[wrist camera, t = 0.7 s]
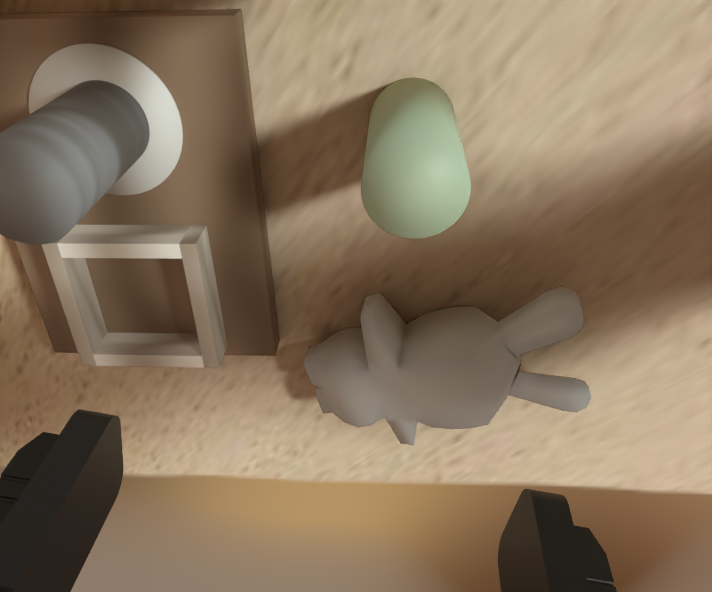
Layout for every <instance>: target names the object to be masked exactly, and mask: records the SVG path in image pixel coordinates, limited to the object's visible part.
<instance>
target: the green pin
mask: <svg viewBox="0 0 712 592" xmlns="http://www.w3.org/2000/svg"><path fill="white" fill-rule="evenodd" d="M470 193H471V180H470V175H469V170H468V166H467V162H466V158H465V154H464V150H463V146H462V142H461V138H460V134H459V129H458V125H457V121H456V117H455V113H454V109H453V106H452V103H451V101H450V99H449V97H448V96H447V94H446V93H445V92H444V91H443V90H442V89H441V88H440V87H439V86H438V85H436V84H435V83H433V82H431V81H428V80H425V79H421V78H406V79H401V80H398V81H396V82H394V83H392V84H390V85H389V86H387V87H386V88H385V89H384V90H382V91H381V93H380V94H379V95H378V96H377V98H376V99H375V101H374V103H373V105H372V108H371V112H370V118H369V126H368V134H367V142H366V150H365V158H364V166H363V174H362V182H361V196H362V201H363V204H364V207H365V209H366V211H367V213H368V215H369V216H370V217H371V219H372V220H373V221H374V222H375V223H376V224H377V225H378V226H379V227H381V228H382V229H383V230H385V231H387V232H388V233H391V234H393V235H396V236H399V237H403V238H411V239H418V238H426V237H430V236H434V235H436V234H439V233H441V232H443V231H444V230H446V229H448V228H449V227H450V226H452V225H453V224H454V223H455V222H456V221H457V220H458V219H459V218H460V216H461V215H462V214H463V212H464V210H465V209H466V206H467V204H468V201H469V198H470Z"/></svg>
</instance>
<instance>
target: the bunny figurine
mask: <svg viewBox="0 0 712 592" xmlns="http://www.w3.org/2000/svg"><path fill="white" fill-rule="evenodd" d="M360 321H361V327H352V328H346V329H342V330H340V331H338V332H336V333H334V334H333V335H331V336H330V337H329V338H327V339H326V340H325V341H323V342H322V343H321V344H319V345H314V346H309V348H308V351H307V354H306V356H305V359H304V362H303V365H304V367H305V370H306V372H307V375H308V377H309V380H310V382H311V384H312V385H315V386H317V388H316V391H315V395H316V397H317V400H318V402H319V405H320V407H321V410H322V412H323V413H334V414H335V415H336V416H337V417H338V418H340V419H341V420H342V421H343V422H345V423H348V424H350V425H353V426H356V427H363V426H371V425H372V424H374V423H375V422H377V421H379V420H380V419H382V418H383V417H385V418H386V420H387V422H388V423H389V425H390V426H391V428H392V430H393V431H394V433H395V435H396V436H397V438H398V440H399V441H400V443H401V444H409V445H414V441H415V433H416V425H417V421H418V422H420V423H423V424H425V425H428V426H430V427H435V428H445V429H465V428H473V427H478V426H483V425H488V424H489V422H490V421H491V419H492V418H493V416H494V415H495V414H496V412H497V411H498V409H499V408H500V406H501V405H502V403H503V402H504V400H505V399H506V398H507V396H508V395H511V396H514V397H517V398H521V399H524V400H528V401H531V402H534V403H538V404H541V405H545V406H548V407H552V408H555V409H559V410H562V411H569V412H578V411H580V410H582V409H584V408H586V407H587V405H588V403H589V401H590V399H591V395H590V391H589V387H588V385H587V384H586V383H585V381H582V380H579V379H576V378H570V377H562V376H554V375H545V374H537V373H529V372H521V371H519V369H520V365H521V361H522V360H521V358H520V356H519V355H521V354H524V353H527V352H530V351H533V350H536V349H539V348H542V347H545V346H548V345H551V344H554V343H556V342H559V341H562V340H565V339H568V338H571V337H572V336H574V335H575V334H577V333H578V332H579V331H580V330H581V328H582V326H583V321H584V318H583V311H582V305H581V299H580V298H579V297H578V295H577V294H576V293H575V291H574V290H572V289H568V288H564V287H558V288H554V289H550V290H547V291H545V292H544V293H542V294H541V295H539V296H538V297H536V298H534V299H533V300H531V301H530V302H528V303H527V304H525V305H524V306H522V307H521V308H519V309H517V310H516V311H514V312H513V313H511V314H510V315H508V316H507V317H505V318H504V319H502V320H500V321H499V322H497V321H495V320H494V319H493V318H491V317H490V316H488V315H487V314H485V313H484V312H482V311H481V310H479V309H478V308H476V307H452V308H446V309H440V310H436V311H433V312H430V313H426V314H423V315H421V316H420V317H418V318H416V319H415V320H413V321H411V322H410V323H408V324H406V323H405V322H404V321H403V319H402V318H401V317H400V316H399V315H398V314H397V312H396V311H395V310H394V309H393V308H392V306H391V305H390V304H389V303H388V302H387V301H386V299H385V298H384V297H383V296H382V295H381V293H377V294H374V295H371V296H367V297H366V298H365V302H364V306H363V309H362V313H361V316H360Z"/></svg>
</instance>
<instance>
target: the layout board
mask: <svg viewBox="0 0 712 592" xmlns="http://www.w3.org/2000/svg"><path fill="white" fill-rule="evenodd" d="M0 234H2V235H4V236H6V237H8V238H10V239H12V240H14V241H15V243H16V246H17V249H18V252H19V254H20V257H21V260H22V263H23V265H24V268H25V271H26V274H27V276H28V279H29V282H30V285H31V287H32V290H33V293H34V295H35V298H36V301H37V304H38V306H39V309H40V312H41V315H42V317H43V320H44V323H45V326H46V328H47V331H48V334H49V337H50V339H51V342H52V345H53V348H54V350H55V352H66V353H78V354H79V357H80V360H81V363H82V366H134V367H195V368H219V366H220V363H221V361H222V358H223V355H263V356H276V352H277V348H278V344H279V340H280V339H279V330H278V321H277V313H276V304H275V295H274V287H273V278H272V269H271V261H270V252H269V243H268V235H267V226H266V217H265V209H264V200H263V191H262V183H261V174H260V165H259V157H258V148H257V139H256V131H255V122H254V114H253V105H252V96H251V88H250V79H249V70H248V62H247V53H246V44H245V36H244V27H243V18H242V10H241V9H227V10H175V11H122V12H70V13H18V14H0Z"/></svg>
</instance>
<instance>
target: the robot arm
mask: <svg viewBox="0 0 712 592" xmlns="http://www.w3.org/2000/svg"><path fill="white" fill-rule="evenodd" d="M122 477H123V454H122V439H121V425H120V419H119V417H118V416H114V415H109V414H103V413H97V412H91V411H86V410H77V411H76V412H75V413H74V414H73V415H72V417H71V418H70V420H69V421H68V423H67V424H66V426H65V427H64V429H63V430H62V432H61V433H60V435H57V434H52V433H46V432H43V433H41V434H40V435H39V436H37V437H36V438H35V439H33V440H32V441H30V442H29V443H28V444H26V445H25V446H24V447H22V448H21V449H20V450H18V451H17V453H16V454H15V456H14V457H13V458H12V460H11V461H10V463H9V464H8V465H7V467H6V468H5V470H4V471H3V473H2V474H1V478H0V592H70V591H71V589H72V587H73V585H74V583H75V581H76V579H77V577H78V575H79V573H80V571H81V569H82V567H83V565H84V563H85V561H86V559H87V557H88V555H89V553H90V551H91V549H92V547H93V545H94V542H95V540H96V538H97V537H98V534H99V532H100V530H101V528H102V526H103V524H104V522H105V520H106V518H107V516H108V514H109V512H110V510H111V508H112V506H113V504H114V502H115V500H116V498H117V495H118V492H119V489H120V486H121V481H122ZM498 568H499V577H500V586H501V592H617V591H616V587H614V586H613V581H614V580H613V577H612V573H611V570H610V567H609V563H608V559H607V556H606V553H605V552H604V550H603V549H602V547H601V546H600V544H599V543H598V541H597V540H596V538H595V537H594V535H593V534H592V532H591V531H590V529H589V528H585V527H579V526H574V525H573V521H572V517H571V513H570V509H569V505H568V502H567V499H566V498H565V497H564V496H563V495H559V494H554V493H548V492H542V491H536V490H531V489H524V490H523V491H522V493H521V495H520V497H519V499H518V501H517V503H516V505H515V507H514V510H513V512H512V514H511V516H510V518H509V520H508V523H507V525H506V527H505V529H504V531H503V533H502V536H501V540H500V544H499V551H498Z"/></svg>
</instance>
